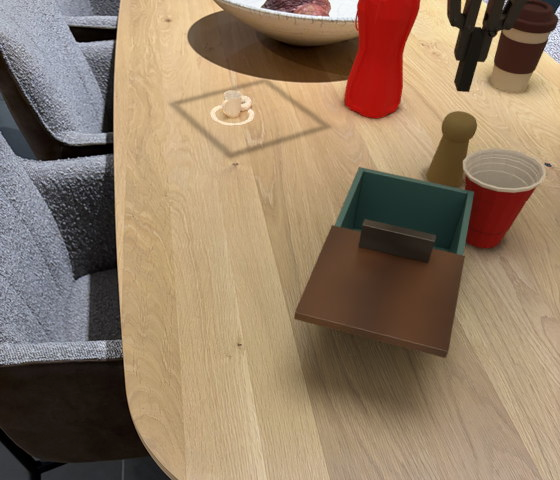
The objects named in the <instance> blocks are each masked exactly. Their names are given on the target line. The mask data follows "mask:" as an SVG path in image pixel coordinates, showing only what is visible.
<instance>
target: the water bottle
mask: <svg viewBox="0 0 560 480" xmlns="http://www.w3.org/2000/svg"><path fill="white" fill-rule="evenodd" d="M420 7H421V0H358V1H357V4H356V12H355V19H354V20H355V21H354V28H355V29H356V31H357V32H358V48H357V49H358V50H357V52H356V55H355V58H354V61H353V64H352V66H351V69H350V72H349V75H348V78H347V81H346V84H345V91H344V105H345V106H346V108H348V109H349V110H350V111H353V112H356V113H358V114H359V115H361V116H363V117H366V118H369V119H380V118H381V119H382V118H385V117H386V116H388V115H389V114H392V113H395V112H396V111H397V110H398V109H399V106H400V104H401V100H402V95H403V87H404V51H405V48H406V44H407V41H408V39H409V36H410V34H411V32H412V29H413V26H414V25H415V23H416V20H417V17H418V14H419V12H420Z"/></svg>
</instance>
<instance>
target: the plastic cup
mask: <svg viewBox="0 0 560 480" xmlns="http://www.w3.org/2000/svg"><path fill="white" fill-rule="evenodd" d="M463 172H464V177H465V178H464V179H465V180H464V181H465V182H464V183H465V186H464V190H468V191H473V192H474V197H473V203H472V208H471V214H470V220H469V225H468V231H467V237H466V242H465V243H467V244H468V245H469V246H472V247H475V248H478V249H483V250H484V249H493V248H495V247H497V246H499V245H500V243H501V242H502V240H503V238H504V237H505V236H506V234H507V232H509V231H510V229H511V227H512V225H513V224H514V222H515V221H516V219H517V217H518V216H519V214H520V213H521V211H522V209H523V208H524V206H525V204H526V203H527V202H528V201H529V199H530V198H531V196H532V195H533V193H535V190H537V188H538V187H540V185H541V184H542V183H543V181H544V180H545V178H546V176H547V171H546V167H545V166H544V164H542V162H541V161H540V160H539V159H537V158H536V157H534V156H532V155H530V154H528V153H526V152H523V151H519V150H516V149H511V148H503V147H490V148H481V149H477V150H475V151H472V152H470V153H467V156H466V158H465V159H464V160H463Z"/></svg>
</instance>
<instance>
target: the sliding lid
mask: <svg viewBox="0 0 560 480" xmlns="http://www.w3.org/2000/svg"><path fill="white" fill-rule="evenodd" d="M334 225H335V224H332V225H331V226H330V229H329V231H328V233H327V236H326V238H325V241H324V243H323V245H322V247H321V249H320V252H319V254H318V256H317V259H316V262H315V264H314V265H313V269H312V271H311V273H310V276H309V278H308V280H307V283H306V285H305V287H304V290H303V292H302V295H301V297H300V299H299V302H298V304H297V305H296V308H295V311H294V315H293V316H294V317H293V319H294V320H296V321H300V322H304V323H306V324H307V323H308V324H310V325H311V324H312V325H315V326H320V327H323V328H327V329H331V330H335V331H339V332H341V333H342V332H343V333H346V334H350V335H355V336H358V337H362V338H366V339H370V340H374V341H378V342H381V343H385V344H389V345H392V346H397V347H401V348H405V349H408V350H413V351H417V352H420V353H424V354H428V355H432V356H434V357H435V356H436V357H438V358H439V357H440V358H442V359H446V358H447V356H448V355H449V349H450V344H451V337H452V334H453V333H452V332H453V327H454V322H455V315H456V309H457V305H458V304H457V303H458V298H459V291H460V287H461V286H460V285H461V282H462V281H461V280H462V274H463V269H464V262H465V256H466V255H464V254H463V255H459V254H455V253H451V252H446V251H442V250H438V249H433V246H434V243H435V239H436V235H433V234H429V233H424V232H420V231H415V230H411V229H407V228H402V227H398V226H393V225H389V224H385V223H380V222H376V221H371V220H367V219H365V220H364V222H363V225H362V230H361V232H360V231H355V230H351V229H347V228H342V227H338V226H334Z"/></svg>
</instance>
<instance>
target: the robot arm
mask: <svg viewBox="0 0 560 480" xmlns="http://www.w3.org/2000/svg"><path fill="white" fill-rule="evenodd" d="M526 2H527V0H507V1H506V0H487V4H486V7H485V11H484V15H483V18H482V21H481V22H482V26H476V24H477V21H478V16H479V14H480V9H481V6H482V3H483V0H465V2H464V7H463V11H462V0H446V17H447V19H448V22H449V24H450V26H451V27H453V28H457V29H458V34H457V38H456V42H455V45H454V49H453V55H454V59H455V61H458V64H457V68H456V73H455V76H454V81H453V83H454V86H455V89H456V92H462V93H470V90H471V87H472V84H473V80H474V76H475V72H476V70H477V66H478V63H485V61H486V60H487V59H488V57H489V56H488V55H489V52H490V49H491V45H492V42H493V39H494V38H495V37H497V35H498V33H499V32H501V30H504V29H505V30H510V29H512V27H513V26H514V24H515V22H516V20H517V19H518V17H519V15H520V13H521V11H522V9H523V8H524V6H525V4H526Z"/></svg>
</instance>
